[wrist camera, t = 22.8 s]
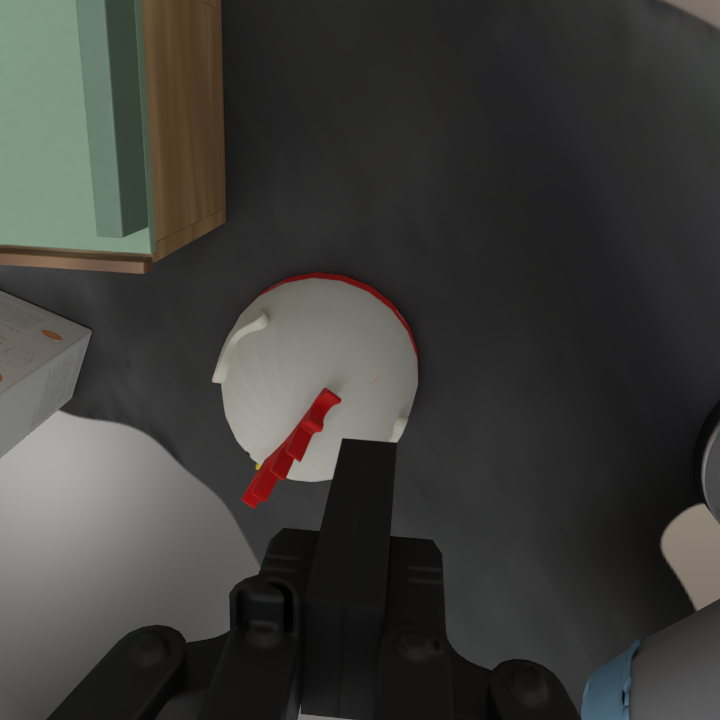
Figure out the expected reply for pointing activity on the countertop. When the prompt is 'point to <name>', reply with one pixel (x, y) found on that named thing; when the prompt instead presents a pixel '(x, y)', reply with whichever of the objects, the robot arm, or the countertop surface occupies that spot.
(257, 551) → the countertop surface
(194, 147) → the case
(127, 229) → the lid
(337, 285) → the white toy chicken
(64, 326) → the small box
